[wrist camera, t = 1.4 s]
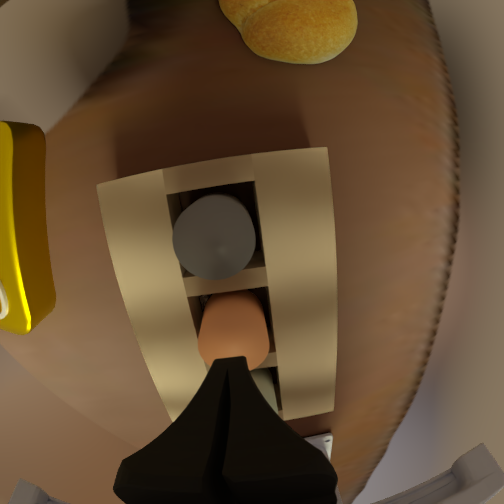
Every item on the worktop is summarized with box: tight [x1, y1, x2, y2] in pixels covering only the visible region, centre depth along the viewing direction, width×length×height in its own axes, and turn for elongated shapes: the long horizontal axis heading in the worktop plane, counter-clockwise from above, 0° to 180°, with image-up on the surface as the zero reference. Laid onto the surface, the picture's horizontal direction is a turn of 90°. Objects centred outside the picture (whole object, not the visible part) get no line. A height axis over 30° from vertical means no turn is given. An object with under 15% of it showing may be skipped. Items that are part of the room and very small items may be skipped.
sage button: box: [250, 367, 278, 414], centre depth 17 cm, size 4×4×4 cm
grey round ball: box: [172, 192, 256, 280], centre depth 14 cm, size 4×4×4 cm
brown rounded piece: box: [198, 289, 269, 371], centre depth 15 cm, size 4×4×4 cm
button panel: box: [96, 147, 337, 422], centre depth 17 cm, size 18×12×3 cm, turn 8°
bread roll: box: [219, 0, 358, 64], centre depth 12 cm, size 8×9×4 cm
